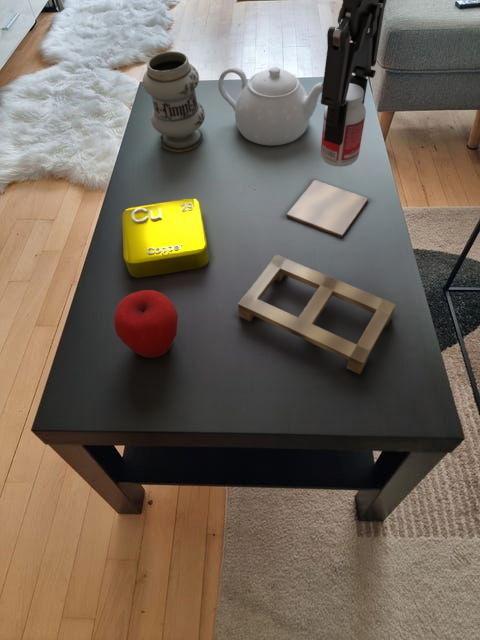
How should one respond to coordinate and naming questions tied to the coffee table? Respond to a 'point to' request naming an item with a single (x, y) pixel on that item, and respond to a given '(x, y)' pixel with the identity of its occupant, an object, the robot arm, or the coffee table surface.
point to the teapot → (271, 105)
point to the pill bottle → (347, 131)
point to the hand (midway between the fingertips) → (342, 129)
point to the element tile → (164, 238)
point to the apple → (146, 322)
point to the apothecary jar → (174, 100)
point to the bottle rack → (318, 310)
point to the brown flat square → (327, 208)
